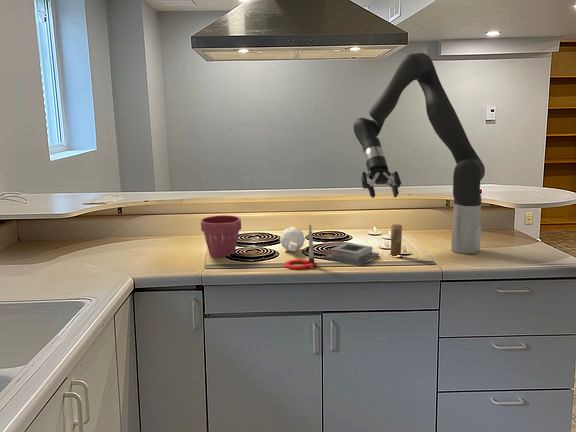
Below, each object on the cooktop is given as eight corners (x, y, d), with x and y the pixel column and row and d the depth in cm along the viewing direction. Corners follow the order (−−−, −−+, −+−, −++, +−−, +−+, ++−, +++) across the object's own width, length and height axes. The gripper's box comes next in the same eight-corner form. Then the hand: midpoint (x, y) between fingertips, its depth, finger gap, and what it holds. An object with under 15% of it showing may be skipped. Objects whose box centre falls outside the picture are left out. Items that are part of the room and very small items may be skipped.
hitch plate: (378, 256, 198) (379, 246, 198) (360, 265, 187) (360, 255, 186) (343, 250, 206) (343, 240, 205) (324, 259, 195) (324, 249, 194)
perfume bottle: (276, 242, 210) (277, 255, 199) (284, 220, 207) (285, 231, 196) (299, 248, 211) (301, 261, 200) (306, 226, 209) (309, 238, 197)
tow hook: (283, 271, 183) (314, 270, 183) (281, 229, 181) (312, 228, 180) (285, 263, 192) (314, 262, 192) (283, 223, 190) (312, 222, 189)
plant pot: (193, 254, 202) (192, 219, 199) (224, 246, 212) (223, 213, 209) (218, 262, 192) (217, 225, 190) (250, 253, 202) (249, 218, 199)
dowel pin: (402, 255, 198) (403, 225, 196) (398, 258, 196) (399, 227, 193) (392, 254, 200) (393, 224, 198) (388, 256, 198) (389, 225, 195)
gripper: (360, 155, 209) (369, 190, 201) (396, 154, 212) (406, 190, 203) (355, 167, 215) (363, 202, 207) (390, 167, 218) (400, 201, 210)
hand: (385, 196), depth 205 cm, fingers open, 8 cm apart
